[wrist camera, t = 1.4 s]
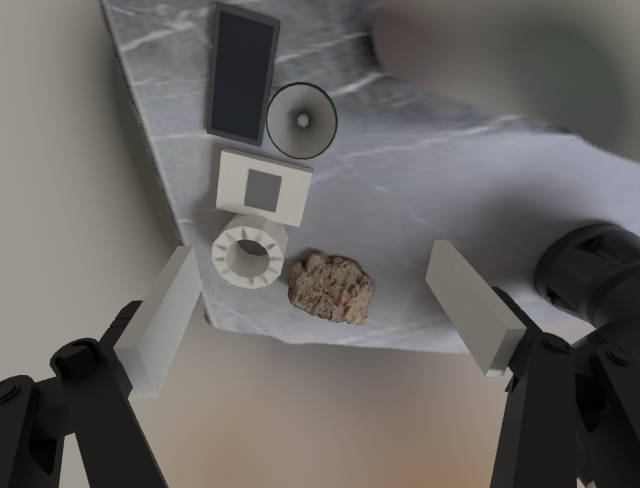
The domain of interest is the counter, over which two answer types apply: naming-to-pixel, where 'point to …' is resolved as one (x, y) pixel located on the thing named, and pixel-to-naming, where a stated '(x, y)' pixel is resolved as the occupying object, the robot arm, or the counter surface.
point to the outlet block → (257, 215)
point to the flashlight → (301, 120)
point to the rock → (330, 288)
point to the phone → (241, 73)
